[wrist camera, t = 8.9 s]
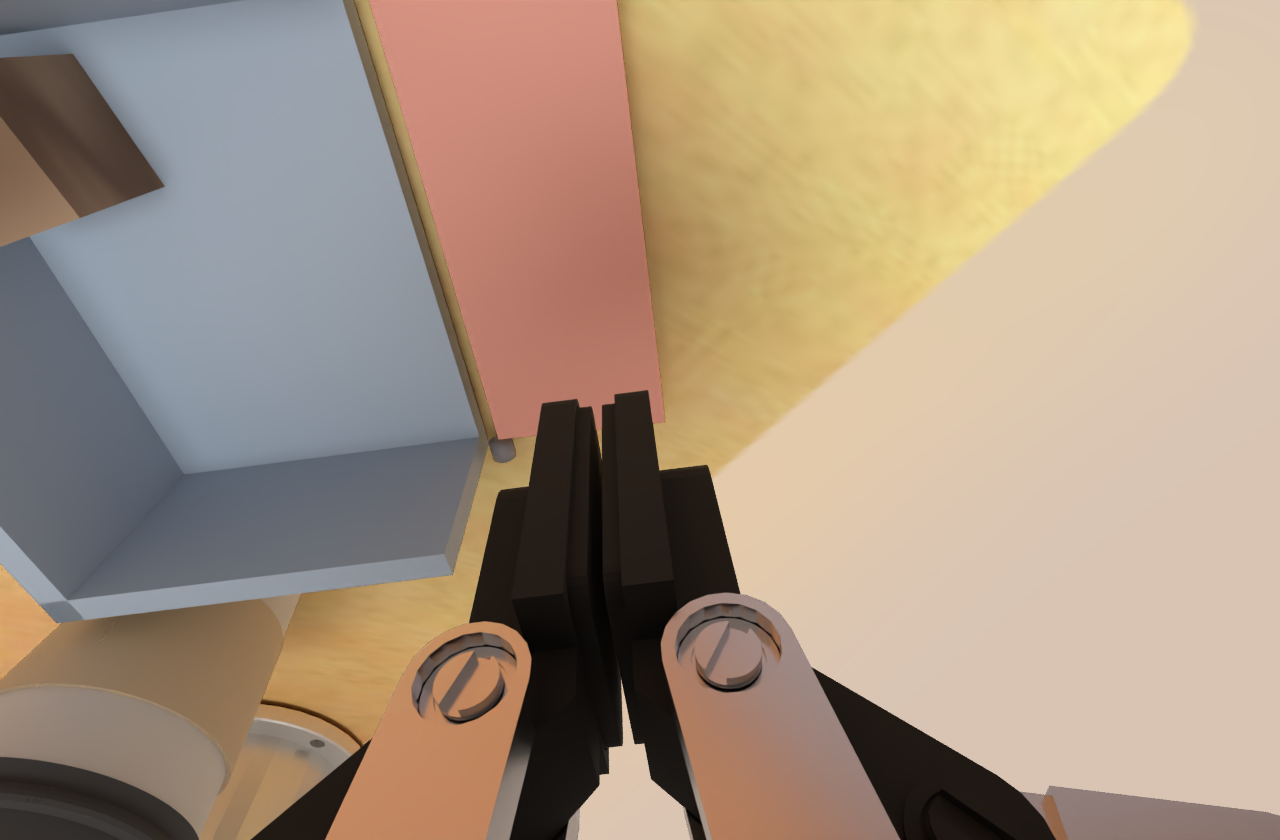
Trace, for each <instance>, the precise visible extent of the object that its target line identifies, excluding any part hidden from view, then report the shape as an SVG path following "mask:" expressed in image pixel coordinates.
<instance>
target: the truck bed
mask: <svg viewBox="0 0 1280 840" xmlns="http://www.w3.org/2000/svg"><path fill="white" fill-rule="evenodd" d="M59 54H74V56H75V57H76V59H77V60H78V62H79V63H80V65H81V66H82V67H83V69H84V70H85V72H86V73H87V75H88V76H89V78H90V79H91V80H92V82H93V83H94V85H95V86H96V88H97V89H98V91H99V92H100V93H101V95H102V96H103V98H104V99H105V101H106V102H107V104H108V105H109V106H110V108H111V109H112V111H113V112H114V114H115V115H116V117H117V118H118V119H119V121H120V122H121V124H122V125H123V127H124V128H125V130H126V131H127V132H128V134H129V135H130V137H131V138H132V140H133V141H134V143H135V144H136V145H137V147H138V148H139V150H140V151H141V153H142V154H143V156H144V157H145V158H146V160H147V161H148V163H149V164H150V166H151V167H152V169H153V170H154V171H155V173H156V174H157V176H158V177H159V179H160V180H161V182H162V183H163V184H164V186H165V187H163V188H160V189H157V190H154V191H152V192H149V193H146V194H144V195H141V196H138V197H136V198H133V199H130V200H127V201H125V202H122V203H119V204H117V205H114V206H111V207H109V208H106V209H103V210H100V211H98V212H95V213H92V214H90V215H87V216H84V217H82V218H79V219H76V220H73V221H71V222H68V223H65V224H62V225H59V226H57V227H54V228H51V229H48V230H46V231H43V232H40V233H37V234H34V235H32V236H29V237H26V238H23V239H21V240H18V241H15V242H12V243H9V244H7V245H4V246H1V247H0V564H1V565H2V566H3V567H4V568H5V569H6V570H7V571H8V572H9V573H10V574H11V575H12V576H13V577H14V578H15V580H16V581H17V582H18V583H19V584H20V585H21V586H22V587H23V588H24V589H25V590H26V591H27V592H28V593H29V594H30V595H31V596H32V598H33V599H34V600H35V601H36V602H37V603H38V604H39V605H40V606H41V607H42V608H43V609H44V610H45V611H46V612H47V613H48V614H49V616H50V617H51V618H52V619H53V620H54V621H55V622H56V623H64V622H72V621H80V620H88V619H97V618H105V617H113V616H121V615H129V614H137V613H146V612H154V611H162V610H170V609H178V608H186V607H195V606H203V605H211V604H219V603H227V602H235V601H244V600H252V599H260V598H268V597H276V596H284V595H293V594H301V593H309V592H317V591H325V590H333V589H342V588H350V587H358V586H366V585H374V584H382V583H391V582H399V581H407V580H415V579H423V578H431V577H440V576H448V575H453V572H454V568H455V564H456V561H457V557H458V553H459V550H460V546H461V543H462V539H463V535H464V532H465V528H466V524H467V521H468V517H469V513H470V510H471V506H472V502H473V499H474V495H475V491H476V488H477V484H478V481H479V477H480V473H481V470H482V466H483V462H484V459H485V455H486V451H487V448H488V444H489V446H490V449H491V452H492V455H493V459H494V461H496V462H498V463H504V462H508V461H510V460H512V459H513V458H515V456H516V450H515V446H514V443H513V439H512V438H509V439H499V440H498V436H495V437H493V438H492V439H491V440H490V441H489V442H488V438H487V435H486V432H485V429H484V425H483V422H482V419H481V415H480V412H479V409H478V406H477V402H476V399H475V396H474V393H473V389H472V386H471V383H470V379H469V376H468V373H467V370H466V366H465V363H464V360H463V357H462V353H461V350H460V347H459V343H458V340H457V337H456V334H455V330H454V327H453V324H452V321H451V317H450V314H449V311H448V308H447V304H446V301H445V298H444V294H443V291H442V288H441V285H440V281H439V278H438V275H437V272H436V268H435V265H434V262H433V258H432V255H431V252H430V249H429V245H428V242H427V239H426V236H425V232H424V229H423V226H422V222H421V219H420V216H419V213H418V209H417V206H416V203H415V200H414V196H413V193H412V190H411V187H410V183H409V180H408V177H407V173H406V170H405V167H404V164H403V160H402V157H401V154H400V151H399V147H398V144H397V141H396V137H395V134H394V131H393V128H392V124H391V121H390V118H389V115H388V111H387V108H386V105H385V101H384V98H383V95H382V92H381V88H380V85H379V82H378V79H377V75H376V72H375V69H374V65H373V62H372V59H371V56H370V52H369V49H368V46H367V43H366V39H365V36H364V33H363V30H362V26H361V23H360V20H359V16H358V13H357V10H356V7H355V3H354V0H0V58H5V57H23V56H41V55H59Z"/></svg>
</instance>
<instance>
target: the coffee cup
mask: <svg viewBox="0 0 1280 840" xmlns="http://www.w3.org/2000/svg"><path fill="white" fill-rule="evenodd" d="M301 594H302V593H301ZM301 594H293V595H284V596H276V597H268V598H260V599H252V600H244V601H235V602H227V603H219V604H211V605H203V606H195V607H186V608H178V609H170V610H162V611H154V612H146V613H137V614H129V615H121V616H113V617H105V618H97V619H88V620H80V621H72V622H64V623H61V624H60V625H59V626H58V627H57V628H56V629H55V630H54V631H53V632H52V633H51V634H50V635H49V636H47V637H46V638H45V639H44V640H43V641H42V642H41V643H40V644H39V645H38V646H37V647H36V648H35V649H33V650H32V651H31V652H30V653H29V654H28V655H27V656H26V657H25V658H24V659H23V660H22V661H21V662H19V663H18V664H17V665H16V666H15V667H14V668H13V669H12V670H11V671H10V672H9V673H8V674H7V675H6V676H4V677H3V678H2V679H1V680H0V840H199V838H200V836H201V833H202V831H203V828H204V826H205V824H206V821H207V819H208V816H209V814H210V812H211V809H212V807H213V804H214V802H215V800H216V797H217V796H218V795H219V794H220V793H221V792H222V791H223V790H224V789H225V788H226V786H227V784H228V782H229V780H230V777H231V775H232V772H233V770H234V767H235V765H236V762H237V760H238V757H239V755H240V752H241V750H242V747H243V745H244V742H245V740H246V737H247V735H248V732H249V730H250V727H251V725H252V722H253V720H254V717H255V715H256V712H257V710H258V707H259V705H260V702H261V700H262V697H263V695H264V692H265V690H266V687H267V685H268V682H269V680H270V677H271V675H272V672H273V670H274V667H275V665H276V662H277V660H278V657H279V655H280V652H281V650H282V646H283V637H284V634H285V632H286V630H287V627H288V625H289V622H290V620H291V618H292V615H293V613H294V610H295V608H296V606H297V603H298V601H299V598H300V596H301Z"/></svg>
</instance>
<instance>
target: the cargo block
mask: <svg viewBox="0 0 1280 840" xmlns="http://www.w3.org/2000/svg"><path fill="white" fill-rule="evenodd" d="M163 187H165V186H164V184H163V183H162V182H161V180H160V179H159V177H158V176H157V174H156V173H155V171H154V170H153V169H152V167H151V166H150V164H149V163H148V161H147V160H146V158H145V157H144V156H143V154H142V153H141V151H140V150H139V148H138V147H137V145H136V144H135V143H134V141H133V140H132V138H131V137H130V135H129V134H128V132H127V131H126V130H125V128H124V127H123V125H122V124H121V122H120V121H119V119H118V118H117V117H116V115H115V114H114V112H113V111H112V109H111V108H110V106H109V105H108V104H107V102H106V101H105V99H104V98H103V96H102V95H101V93H100V92H99V91H98V89H97V88H96V86H95V85H94V83H93V82H92V80H91V79H90V78H89V76H88V75H87V73H86V72H85V70H84V69H83V67H82V66H81V65H80V63H79V62H78V60H77V59H76V57H75V56H74V54H59V55H41V56H23V57H5V58H0V247H1V246H4V245H7V244H9V243H12V242H15V241H18V240H21V239H23V238H26V237H29V236H32V235H34V234H37V233H40V232H43V231H46V230H48V229H51V228H54V227H57V226H59V225H62V224H65V223H68V222H71V221H73V220H76V219H79V218H82V217H84V216H87V215H90V214H92V213H95V212H98V211H100V210H103V209H106V208H109V207H111V206H114V205H117V204H119V203H122V202H125V201H127V200H130V199H133V198H136V197H138V196H141V195H144V194H146V193H149V192H152V191H154V190H157V189H160V188H163Z"/></svg>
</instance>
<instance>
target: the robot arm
mask: <svg viewBox="0 0 1280 840" xmlns="http://www.w3.org/2000/svg"><path fill="white" fill-rule="evenodd" d="M614 401H615V403H613V404H605V405H602V459H601V453H600V447H599V442H598V436H597V430H596V425H595V419H594V414H593V409H592V406H588V407H580V406H579V402H578V400H577V399H571V400H563V401H555V402H547V403H542V406H541V412H540V418H539V424H538V431H537V437H536V444H535V450H534V456H533V463H532V469H531V476H530V482H529V487H521V488H513V489H505V490H501V491H500V492H499V493H498V496H497V499H496V504H495V508H494V513H493V517H492V522H491V526H490V531H489V535H488V540H487V544H486V549H485V553H484V558H483V563H482V567H481V572H480V576H479V581H478V585H477V590H476V594H475V599H474V603H473V608H472V612H471V617H470V621H469V623H468V624H464V625H461V626H459V627H456V628H453V629H451V630H448V631H446V632H444V633H443V634H441V635H439V636H438V637H436V638H435V639H433V640H432V641H430V642H428V643H427V644H426V645H425V646H424V647H423V648H422V649H421V650H420V651H419V652H418V653H417V654H416V655H415V656H414V657H413V659H412V660H411V662H410V663H409V665H408V666H407V668H406V670H405V671H404V673H403V674H402V676H401V678H400V680H399V683H398V685H397V687H396V689H395V691H394V693H393V695H392V698H391V700H390V702H389V704H388V706H387V708H386V710H385V713H384V715H383V717H382V719H381V721H380V723H379V725H378V728H377V730H376V732H375V734H374V736H373V738H372V739H371V740H370V741H368V742H367V743H366V744H365V745H364V746H362V747H361V748H360V746H359V745H358V744H357V743H356V742H355V741H354V740H353V739H352V738H351V737H350V736H349V735H348V734H346V733H345V732H343V731H342V730H340V729H339V728H337V727H336V726H334V725H332V724H330V723H328V722H326V721H324V720H322V719H320V718H318V717H315V716H312V715H309V714H306V713H304V712H301V711H297V710H293V709H289V708H284V707H280V706H273V705H265V704H260V705H259V707H258V710H257V712H256V715H255V717H254V720H253V722H252V725H251V727H250V730H249V732H248V735H247V737H246V740H245V742H244V745H243V747H242V750H241V752H240V755H239V757H238V760H237V762H236V765H235V767H234V770H233V772H232V775H231V777H230V780H229V782H228V784H227V786H226V788H225V789H224V790H223V791H222V792H221V793H220V794H219V795H218V796H217V797H216V800H215V802H214V804H213V807H212V809H211V812H210V814H209V816H208V819H207V821H206V824H205V826H204V828H203V831H202V833H201V836H200V838H199V840H577V838H578V832H579V814H580V810H579V808H580V807H581V806H582V805H583V803H584V802H585V801H586V800H587V799H588V798H589V796H590V795H591V794H592V793H593V792H594V791H595V790H596V788H597V787H598V786H599V775H601V774H609V747H616V746H622V744H623V727H622V696H621V695H622V694H621V680H622V684H623V689H624V694H625V699H626V704H627V709H628V714H629V719H630V724H631V728H632V734H633V739H634V743H635V744H643V743H644V744H645V749H646V754H647V760H648V765H649V770H650V776H651V779H652V780H653V781H654V782H655V783H656V784H658V785H659V786H660V787H661V788H662V789H663V790H665V791H666V792H667V793H668V794H669V795H671V796H672V797H673V798H674V799H675V800H676V801H678V802H679V803H680V804H681V805H682V806H683V808H684V815H685V819H686V823H687V827H688V831H689V835H690V839H691V840H1280V816H1279V815H1275V814H1271V813H1268V812H1260V811H1253V810H1244V809H1236V808H1228V807H1220V806H1212V805H1203V804H1195V803H1186V802H1178V801H1170V800H1162V799H1154V798H1146V797H1138V796H1128V795H1121V794H1113V793H1105V792H1096V791H1088V790H1080V789H1072V788H1064V787H1055V786H1049V788H1048V790H1047V792H1046V794H1045V795H1042V794H1034V793H1026V792H1019V791H1018V790H1016V789H1015V788H1014V787H1012V786H1011V785H1009V784H1008V783H1007V782H1006V781H1004V780H1003V779H1001V778H1000V777H999V776H997V775H996V774H994V773H992V772H990V771H989V770H987V769H985V768H984V767H982V766H980V765H978V764H977V763H975V762H973V761H972V760H970V759H968V758H967V757H965V756H963V755H961V754H960V753H958V752H956V751H955V750H953V749H951V748H949V747H948V746H946V745H944V744H943V743H940V742H939V741H937V740H936V739H934V738H932V737H930V736H929V735H927V734H925V733H924V732H922V731H920V730H918V729H917V728H915V727H913V726H912V725H910V724H908V723H906V722H905V721H903V720H901V719H899V718H898V717H896V716H894V715H893V714H891V713H889V712H888V711H886V710H884V709H882V708H881V707H879V706H877V705H876V704H874V703H872V702H870V701H869V700H867V699H865V698H864V697H862V696H860V695H858V694H857V693H855V692H853V691H851V690H850V689H848V688H846V687H845V686H843V685H841V684H840V683H838V682H836V681H834V680H833V679H831V678H829V677H827V676H826V675H824V674H822V673H821V672H819V671H817V670H816V669H814V668H812V667H811V666H810V664H809V662H808V660H807V658H806V656H805V654H804V652H803V650H802V648H801V646H800V644H799V642H798V640H797V638H796V637H795V635H794V633H793V631H792V629H791V628H790V626H789V625H788V624H787V622H786V621H785V619H784V618H783V617H782V615H781V614H780V613H779V612H777V611H776V610H775V609H773V608H772V607H770V606H769V605H768V604H767V603H765V602H763V601H760V600H758V599H755V598H753V597H750V596H748V595H741V594H740V591H739V587H738V583H737V579H736V575H735V571H734V567H733V563H732V559H731V555H730V551H729V547H728V543H727V539H726V535H725V531H724V527H723V522H722V518H721V515H720V511H719V506H718V502H717V499H716V495H715V490H714V486H713V482H712V478H711V474H710V471H709V468H708V466H707V465H702V466H693V467H685V468H677V469H669V470H661V471H659V465H658V458H657V451H656V443H655V436H654V428H653V421H652V414H651V406H650V399H649V392H648V390H644V391H636V392H628V393H620V394H614Z"/></svg>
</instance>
